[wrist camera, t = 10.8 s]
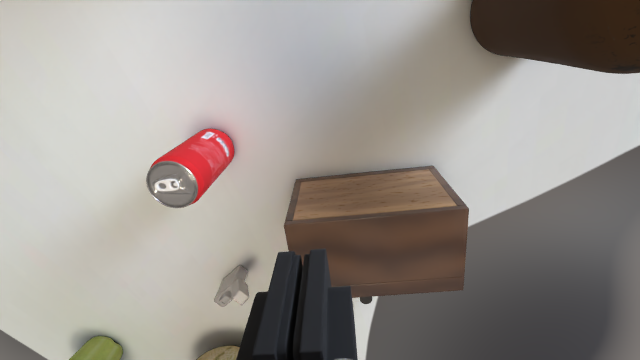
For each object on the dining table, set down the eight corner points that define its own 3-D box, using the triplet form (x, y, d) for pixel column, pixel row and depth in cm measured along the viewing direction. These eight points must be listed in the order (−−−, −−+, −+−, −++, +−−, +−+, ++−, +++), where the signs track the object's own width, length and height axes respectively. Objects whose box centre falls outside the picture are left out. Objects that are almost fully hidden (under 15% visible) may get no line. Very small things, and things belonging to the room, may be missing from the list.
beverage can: (241, 163, 41) (207, 207, 30) (202, 168, 41) (155, 213, 30) (230, 123, 39) (190, 155, 28) (190, 129, 39) (134, 162, 28)
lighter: (231, 286, 49) (213, 329, 41) (222, 279, 48) (203, 321, 41) (261, 260, 47) (248, 300, 39) (252, 253, 46) (237, 293, 39)
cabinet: (295, 179, 41) (283, 225, 31) (433, 165, 40) (469, 208, 29) (306, 241, 45) (298, 301, 35) (432, 231, 44) (463, 290, 33)
